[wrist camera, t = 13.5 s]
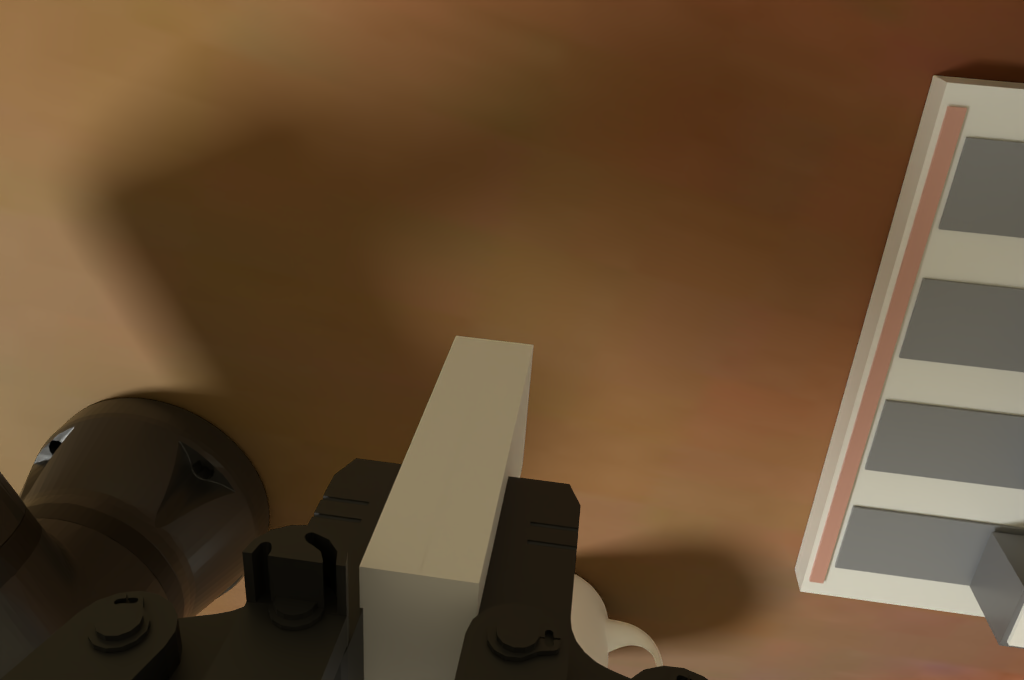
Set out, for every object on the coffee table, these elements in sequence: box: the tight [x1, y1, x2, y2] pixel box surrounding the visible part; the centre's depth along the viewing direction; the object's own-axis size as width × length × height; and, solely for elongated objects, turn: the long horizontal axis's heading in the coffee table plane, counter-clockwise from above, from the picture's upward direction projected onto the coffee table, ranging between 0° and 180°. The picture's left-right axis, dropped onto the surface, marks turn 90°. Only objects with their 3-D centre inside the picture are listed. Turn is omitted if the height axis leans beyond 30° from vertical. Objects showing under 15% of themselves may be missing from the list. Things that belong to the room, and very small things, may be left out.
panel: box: [795, 75, 1024, 617], centre depth 46 cm, size 14×30×2 cm, turn 176°
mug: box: [571, 574, 663, 668], centre depth 53 cm, size 9×12×11 cm
